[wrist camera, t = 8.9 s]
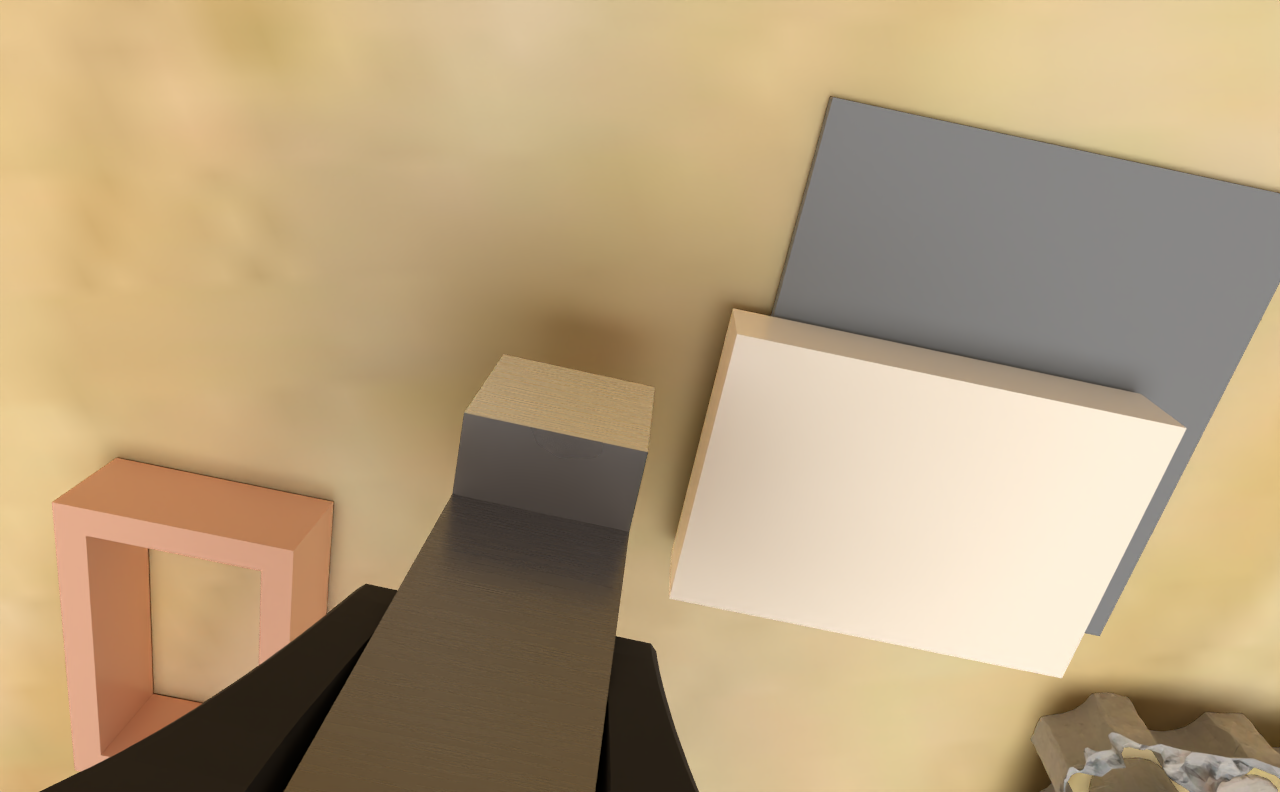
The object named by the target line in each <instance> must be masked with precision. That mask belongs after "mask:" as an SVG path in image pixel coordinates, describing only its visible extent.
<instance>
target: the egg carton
mask: <svg viewBox="0 0 1280 792" xmlns="http://www.w3.org/2000/svg"><path fill="white" fill-rule="evenodd" d="M1031 741H1032V743H1033V745H1034V747H1035V749H1036V751H1037V754H1038V755H1039V757H1040V759H1041V761H1042V763H1043V765H1044V768H1045V770H1046V772H1047V774H1048V776H1049V778H1050V780H1051V782H1052V783H1051V784H1050V785H1049V786H1048V787H1047V788H1045V789H1043V790H1042V791H1040V792H1073V791H1072V789H1071V787H1070V785H1069V783H1068V780H1069V778H1070V777H1071V775H1072V774H1075V773H1078V772H1080V773H1085V774H1090V775H1094V776H1093V777H1092V779H1091V783H1090V786H1089V792H1178V791H1177V789H1176V788H1175V786H1174V785H1173V784H1172V782H1171V781H1170V779H1172V780H1173V781H1175V782H1176V783H1178V784H1179V785H1181V786H1183V787H1184V788H1186V789H1187V790H1189V791H1190V792H1278V790H1277V788H1276V786H1275V785H1273V784H1272V783H1271V781H1270V780H1268V779H1266V778H1264V777H1261V776H1258V775H1245V774H1247V773H1248V772H1249V771H1250V770H1252V769H1253V768H1258V769H1260V770H1263V771H1265V772H1268V773H1270V774H1273V775H1275V776H1277V777H1278V778H1279V779H1280V747H1271V746H1270V745H1269V744H1268V743H1267V741H1266V740H1265V739H1264V737H1263V736H1262V735H1261V734H1259V733H1258V732H1257V730H1256V728H1255V727H1254V725H1253V724H1252V723H1251V722H1250V721H1249V720H1248V718H1247V717H1245V716H1244V715H1243V714H1242V713H1212V712H1204V713H1203V714H1202V715H1201V716H1200V717H1199V718H1198V719H1196V720H1195V721H1194V722H1192V723H1191V724H1189V725H1187V726H1186V727H1183V728H1180V729H1176V730H1170V731H1152V730H1148V728H1147V727H1146V725H1145V723H1144V722H1143V721H1142V719H1141V718H1140V717H1139V716H1138V714H1137V712H1136V710H1135V708H1134V706H1133V704H1132V702H1131V701H1130V699H1129V698H1128V697H1125V696H1121V695H1117V694H1114V693H1092V694H1091V695H1090V696H1089V697H1088V698H1087V700H1086V701H1085V702H1084V703H1083V704H1082V705H1080V706H1079V707H1077V708H1076V709H1074V710H1071V711H1068V712H1065V713H1062V714H1055V715H1048V716H1043V717H1041V718H1040V719H1039V721H1038V723H1037V725H1036V728H1035V731H1034V733H1033V735H1032V736H1031ZM1124 747H1131V748H1135V749H1140V750H1145V749H1149V750H1152V751H1153V753H1154V755H1155V756H1156V758H1157V760H1158V761H1159V763H1160V765H1161V766H1162V768H1163V769H1164V770H1163V769H1162V768H1161V767H1160V766H1158V765H1157V764H1155V763H1154V762H1152V761H1150V760H1146V759H1142V758H1125V759H1123V757H1122V754H1121V753H1122V751H1123V748H1124ZM1168 777H1169V778H1170V779H1169V778H1168Z"/></svg>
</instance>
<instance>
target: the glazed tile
mask: <svg viewBox="0 0 1280 792" xmlns="http://www.w3.org/2000/svg"><path fill="white" fill-rule="evenodd" d="M1186 429H1187V428H1186V427H1184V426H1183V425H1182V424H1180V423H1179V422H1178V421H1176V420H1175V419H1174V418H1172V417H1171V416H1170V415H1168V414H1167V413H1166V412H1164V411H1163V410H1162V409H1160V408H1159V407H1158V406H1156V405H1155V404H1154V403H1152V402H1151V401H1150V400H1148V399H1147V398H1146V397H1144V396H1143V395H1142V394H1139V393H1134V392H1129V391H1125V390H1120V389H1115V388H1110V387H1106V386H1101V385H1096V384H1091V383H1086V382H1082V381H1077V380H1072V379H1067V378H1063V377H1058V376H1053V375H1048V374H1044V373H1039V372H1034V371H1029V370H1025V369H1020V368H1015V367H1010V366H1006V365H1001V364H996V363H991V362H986V361H982V360H977V359H972V358H967V357H963V356H958V355H953V354H948V353H944V352H939V351H934V350H929V349H925V348H920V347H915V346H910V345H905V344H901V343H896V342H891V341H886V340H882V339H877V338H872V337H867V336H863V335H858V334H853V333H848V332H844V331H839V330H834V329H829V328H825V327H820V326H815V325H810V324H805V323H801V322H796V321H791V320H786V319H782V318H777V317H772V316H767V315H763V314H758V313H753V312H748V311H744V310H739V309H734V308H733V310H732V314H731V318H730V322H729V326H728V330H727V334H726V338H725V342H724V346H723V350H722V354H721V358H720V362H719V366H718V370H717V374H716V378H715V382H714V386H713V390H712V394H711V398H710V402H709V406H708V410H707V414H706V417H705V421H704V425H703V429H702V433H701V437H700V441H699V445H698V449H697V453H696V457H695V461H694V465H693V469H692V473H691V477H690V481H689V485H688V489H687V493H686V497H685V501H684V505H683V509H682V513H681V517H680V521H679V525H678V529H677V533H676V537H675V541H674V545H673V549H672V553H671V569H670V591H669V599H674V600H679V601H683V602H688V603H693V604H698V605H703V606H708V607H713V608H718V609H723V610H728V611H733V612H738V613H743V614H748V615H753V616H757V617H762V618H767V619H772V620H777V621H782V622H787V623H792V624H797V625H802V626H807V627H812V628H817V629H822V630H826V631H831V632H836V633H841V634H846V635H851V636H856V637H861V638H866V639H871V640H876V641H881V642H886V643H891V644H896V645H900V646H905V647H910V648H915V649H920V650H925V651H930V652H935V653H940V654H945V655H950V656H955V657H960V658H965V659H969V660H974V661H979V662H984V663H989V664H994V665H999V666H1004V667H1009V668H1014V669H1019V670H1024V671H1029V672H1034V673H1039V674H1043V675H1048V676H1053V677H1058V678H1062V677H1063V675H1064V673H1065V671H1066V669H1067V667H1068V665H1069V663H1070V661H1071V659H1072V657H1073V655H1074V653H1075V651H1076V649H1077V647H1078V645H1079V643H1080V641H1081V639H1082V637H1083V635H1084V633H1085V631H1086V629H1087V627H1088V625H1089V623H1090V621H1091V619H1092V617H1093V615H1094V613H1095V611H1096V609H1097V607H1098V605H1099V603H1100V601H1101V599H1102V597H1103V595H1104V593H1105V591H1106V589H1107V587H1108V585H1109V583H1110V581H1111V579H1112V577H1113V575H1114V573H1115V571H1116V569H1117V567H1118V565H1119V563H1120V561H1121V559H1122V557H1123V555H1124V553H1125V551H1126V549H1127V547H1128V545H1129V543H1130V541H1131V539H1132V537H1133V535H1134V533H1135V531H1136V529H1137V527H1138V525H1139V523H1140V521H1141V519H1142V517H1143V515H1144V513H1145V511H1146V509H1147V507H1148V505H1149V503H1150V501H1151V499H1152V497H1153V495H1154V493H1155V491H1156V489H1157V487H1158V485H1159V483H1160V481H1161V479H1162V477H1163V475H1164V473H1165V471H1166V469H1167V467H1168V465H1169V463H1170V461H1171V459H1172V457H1173V455H1174V453H1175V451H1176V449H1177V447H1178V445H1179V443H1180V441H1181V439H1182V437H1183V435H1184V433H1185V431H1186Z"/></svg>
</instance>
